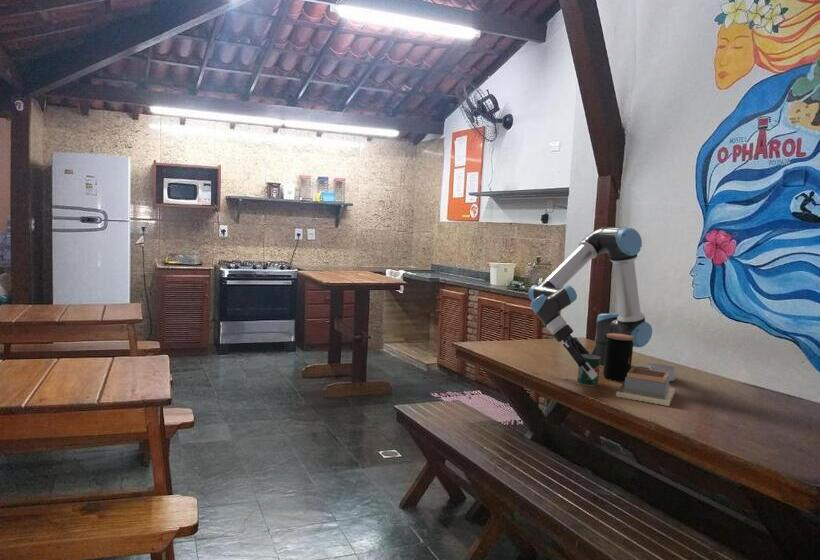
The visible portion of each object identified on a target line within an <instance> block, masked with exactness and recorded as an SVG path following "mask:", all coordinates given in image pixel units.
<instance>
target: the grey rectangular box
mask: <svg viewBox="0 0 820 560" xmlns="http://www.w3.org/2000/svg"><path fill="white" fill-rule="evenodd" d="M669 381H670V377H669V373H668V372H661V371H655V370H649V369H642V368H636V367H632V368H631V369H630V371H629V372H628V373H627V376H626V377H625V381H623V383H622V384H621V386H620V387H619V388H618V389H617V390H616V394H615V397H616V396H618V397H617V398H620V397H622V398H621V399H626V398H627V399H628V400H631V399H632V400H633V401H636V400H638V401H639V402H642V401H644V402H643V403H647V402H649V403H648V404H653V403H654V404H655V405H658V404H660V406H663V407H670V405H671V403H672V400H673V398H674V396H675V394H676V388H675V387H671V386H670V382H669ZM627 399H626V400H627ZM638 401H637V402H638ZM654 404H653V405H654Z"/></svg>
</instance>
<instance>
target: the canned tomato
mask: <svg viewBox="0 0 820 560" xmlns="http://www.w3.org/2000/svg"><path fill="white" fill-rule="evenodd" d="M581 355H582V356H583V358H584V360H585V361H586V362H588V363H589V365H590V366H591V367H592V368H593V370H594V371H595V372H596V373H597V375H598V376H597V377H595V378H594V379H591V378H590V376H589V375H588V374H587V373H586V371H585V370H584V369H583V368H582V366H580V367H579V366H578V371H577V372H578V373H577V381H576V383H577V384H578V385H582V386H587V387H596V386H595V385H597V386H598V385H599V376H600V374H599V368H601V367H600V365H601V364H600V358H601V357H599V356H597V355H591V353H590V354H581Z"/></svg>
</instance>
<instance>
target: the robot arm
mask: <svg viewBox="0 0 820 560" xmlns="http://www.w3.org/2000/svg"><path fill="white" fill-rule="evenodd" d="M642 242H643V241H642V236H641V234H640V233H639V232H638V230H636V229H635V228H632V227H628V226H627V227H626V226H603V227H598V229H597V228H596V229H595V230H593V231H592V232H591V233H589V234H587V235H586V236H585V237H584V238H583V239H582V240H581V241H579V243H578V246H577V248H576V249H575V250H574V251H572V253H570V254H569V256H568V257H566V258H565V260H563V262H561V264H559V266H557V267H556V268H555V269H554V270H553V271H552V272H551V273H550V274H549V275H548V276H547V277H546V278H545V279H544V280H543V281H542V282H540V284H534V285H533V284H532V285H531V286H530V288H529V289H528V294H527V295H528V298H529V300H530V301H531V302H530V305H529V306H530V308H531V309H532V311H533V312H534V315H536V316H537V317H538V319H539V320H540V321H541V322H542V324H543V325H544V326H545V327H546V331H549V332H550V334H552V335H553V338H555V340H556V341H557V342H558V343H560V342H562V341H563V344H562V345H563V347H564V348H565V349H566V350H567V351H568V354H569V355H570V356H571V357H572V359H573V360H574V362H575V363H576V364H577V366H578V368H579V367H580V366H582V368H583V369H584V370H585V371H586V373H587V374H588V375H589V376H590V378H591V379H594V378H595V377H597V376H598V375H597V373H596V372H595V371H594V370H593V368H592V367H591V366H590V365H589V363H588V362H586V361H585V360H584V358H583V356H582V355H581V354H591V355H597V356H599V357H601V358H600V365H604V359H605V349H606V340H607V339H608V338H607V334H610V333H616V334H625V335H630V336H633V337H634V340H633V341H632V342H633V348H634V347H635V348H643V347H645V346H646V345H648V343H649V342H650V341H651V338H652V336H653V327H652V325H651V324H650V323H649V322H648V321H647V322H646V316H645V314H644V313H643V312H641V305H640V297H639V290H638V288H639V287H638V282H637V274H636V266H635V265H636V264H635V261H636V260H637V258H638V254H639V252H640V251H641V248H642V246H643V243H642ZM602 254H608V260H609V261H610V262H611V263H612V264H613V270H614V271H613V272H614V278H615V285H616V291H617V292H616V293H617V302H618V309H619V313H599V314H597V318H596V325H595V327H596V328H595V337H594V345H593V348H592V350H591V352H589V351H588V350H587V349H586V347H585V346H584V345H582V343H581V342H580V341H579V340H578V338H577V337H576V336H572V335H571V334H572V333H573V332H574V329H573V328H572V327H571V326H570V324H567V321H566V319H565V318H564V317H563V316H562V315H561V313H560V312H561V311H562V310H564V309H565V308H567V307H568V306H570V305H572V303H574V302H575V301H576V300H577V298H578V294H577V292H576V290H575V288H573V287H572V286H571V285H567V283H568V282H569V281H570V280H571V279H572V278H573V277H574V276H575V275H576V274H577V273H578V272H579V271H581V269H582V268H583V267H584V266H585V265H587V263H588V262H589V261H590V260H593V259H596V258H597V257H598V256H599V255H602ZM601 373H603V371H602V369H601V367H599V375H600V374H601Z"/></svg>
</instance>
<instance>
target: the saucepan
mask: <svg viewBox="0 0 820 560" xmlns="http://www.w3.org/2000/svg"><path fill="white" fill-rule="evenodd" d="M632 367H636V368H642V369H649V370H655V371H661V372H668V373H669V377H670V381H671V382H673V381H675V380H676V374H677V373H676V372H677V369H678V368H677V367H675V366H672V365H668V364H664V363H663V364H662V363H648V364H647V366H646V367H645V366H640V365H639V366H638V365H631V368H632Z"/></svg>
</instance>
